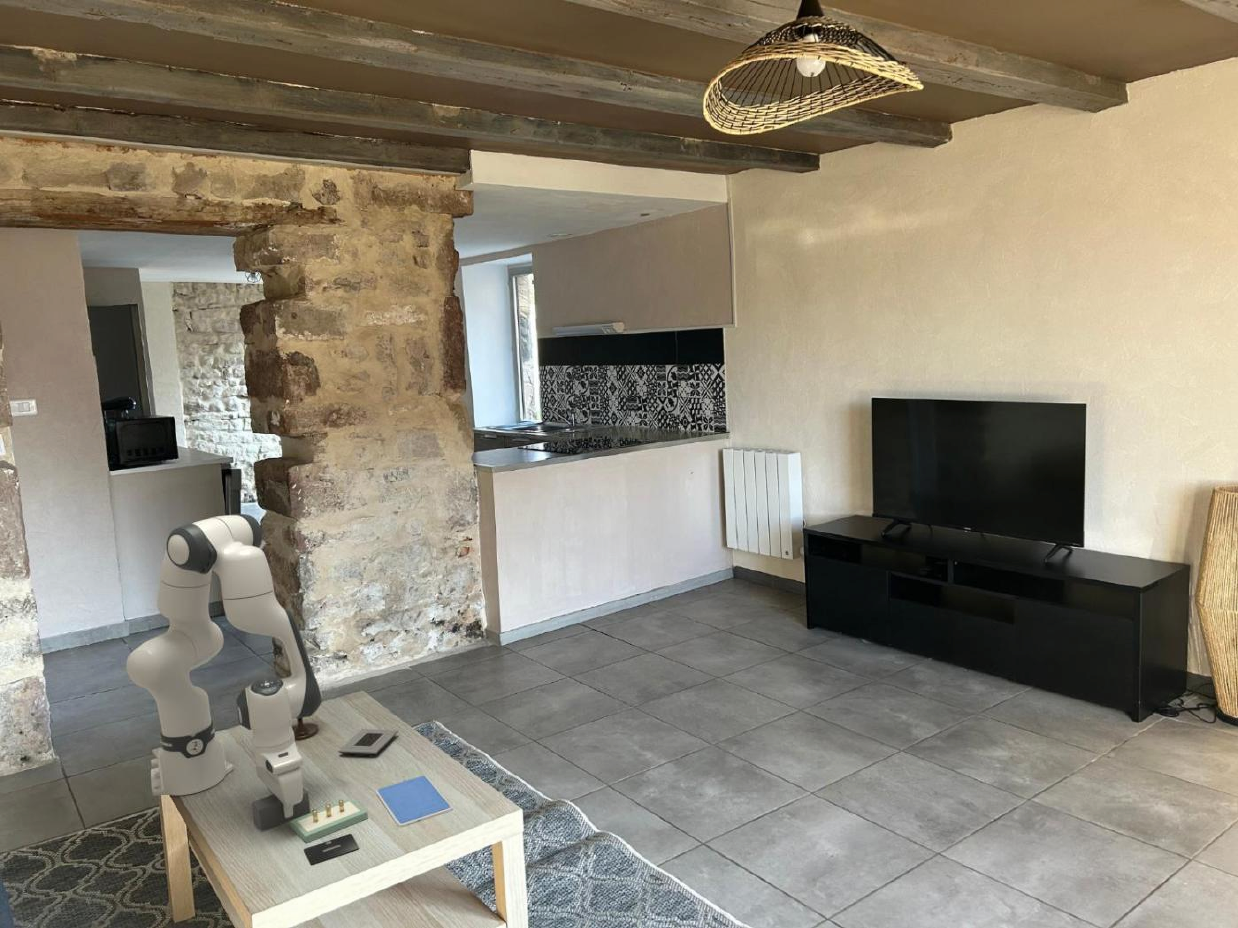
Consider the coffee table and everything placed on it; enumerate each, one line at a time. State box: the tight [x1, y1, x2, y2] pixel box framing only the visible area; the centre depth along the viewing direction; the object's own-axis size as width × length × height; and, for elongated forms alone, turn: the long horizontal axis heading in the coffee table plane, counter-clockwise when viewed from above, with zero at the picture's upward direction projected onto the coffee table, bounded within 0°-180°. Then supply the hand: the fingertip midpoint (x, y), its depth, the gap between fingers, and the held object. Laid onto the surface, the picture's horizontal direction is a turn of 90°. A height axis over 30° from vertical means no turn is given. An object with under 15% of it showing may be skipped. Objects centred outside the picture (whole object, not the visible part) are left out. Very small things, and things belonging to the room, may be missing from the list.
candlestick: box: [286, 663, 320, 742], centre depth 245 cm, size 11×11×35 cm
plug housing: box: [251, 787, 312, 832], centre depth 203 cm, size 5×11×5 cm, turn 130°
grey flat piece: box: [337, 728, 399, 756], centre depth 237 cm, size 13×10×2 cm
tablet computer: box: [375, 775, 454, 828], centre depth 207 cm, size 19×13×1 cm, turn 31°
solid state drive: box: [303, 833, 360, 866], centre depth 189 cm, size 7×10×1 cm
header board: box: [290, 797, 369, 844], centre depth 200 cm, size 9×14×4 cm, turn 130°
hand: (281, 808), depth 203 cm, fingers open, 7 cm apart
